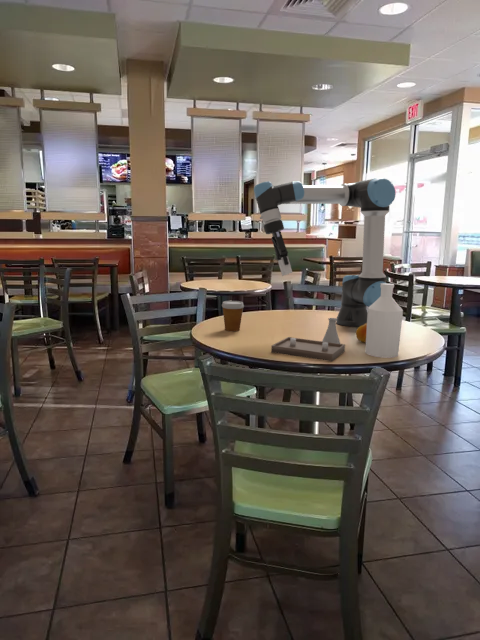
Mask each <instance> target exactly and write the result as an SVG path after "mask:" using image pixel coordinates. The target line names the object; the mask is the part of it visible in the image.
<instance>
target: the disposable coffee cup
mask: <svg viewBox="0 0 480 640" xmlns="http://www.w3.org/2000/svg"><path fill="white" fill-rule="evenodd" d="M221 307H222V312H223V313H222V314H223V322H224V324H223V325H224V331H226V332H239V331H241V325H242V323H241V322H242V317H243V316H242V315H243V310H244V307H245V305H244V302H243V301H239V300H225V301H222V304H221Z"/></svg>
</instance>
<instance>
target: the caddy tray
mask: <svg viewBox="0 0 480 640" xmlns="http://www.w3.org/2000/svg"><path fill="white" fill-rule="evenodd" d="M270 348H271V350H270V351H271V353H272V354H273V353H274V354H278V355H279V354H280V355H287V356H291V357H293V356H294V357H300V358H306V359H307V358H308V359H313V360H319V361H320V360H321V361H327V362H333V361H335V360H336V359H337V358H338V357H339V356H341V355H342V354H344V352H345V350H346V344H345V343H340V344H338V343H330V342H323V341H322V340H314V339H308V338H307V339H306V338H299V337H298V338H297V337H292V336H291V337H290V336H288V337H285V338H283V339H282V340H280V341H278V342H275V343H274V344H272V345H271V347H270Z"/></svg>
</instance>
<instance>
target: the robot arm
mask: <svg viewBox="0 0 480 640" xmlns="http://www.w3.org/2000/svg"><path fill="white" fill-rule="evenodd" d="M253 187H254V188H253V192H254V198H255V200H256V205H257V208H258V210H259V214H260V216H259V219H260V220H262V221H261V222H262V224H264V225H263V229H264V233H265V234H266V235H272V236H271V242H272V243H273V244H272V245H273V248H274V252H275V256H276V257H275V258H276V260H277V262H278V266H279V269H280V273H281V276H282V277H283V276H286V275H289V274H292V273H293V270H292V265H291V262H290V259H289V254H288V253H289V252H288V249H287V246H286V244H285V241H284V239H283V235H282V231H283V230H284V229H285V226H284V223H283V220H282V214H281V211H280V209H279V206H280V205H293V204H295V205H297V204H298V205H303V204H304V205H312V204H313V205H314V204H315V205H317V204H318V205H319V204H320V205H321V204H322V205H325V204H327V205H329V204H331V205H333V204H335V205H338V204H339V205H340V206H341V207H352V208H360V213H361V214H362V215H363V217H364V219H363V238H362V239H363V240H362V241H363V244H362V267H361V268H362V269H361V273H360V274H350V275H348V274H347V275H343V277H342V283H341V286H342V287H341V289H342V290H341V305H340V308H339V312H338V314H337V317H336V319H337V320H336V325H340V326H345V327H355V328H359V327H360V326H362V325H364V324H365V323H367V314H368V307H369V306H371V305H372V304H373V303H374V302H375V301H376V300H377V299H378V298H379V297H380V296H381V287H380V285H381V283H387V276H386V274H385V273H384V272H383V270H384V251H385V250H384V249H385V247H384V246H385V229H386V227H385V226H386V215H387V214H388V213H389V212H390V206H391V204H393V202H394V201H395V198H396V194H397V193H396V189H395V186H394V184H393V183H392V182H391V181H390V179H388V178H385V177H377V178H376V177H374V178H371V179H366V180H360V181H357V182H351V183H342V184H341V185H303V183H302V182H301V181H300V180H295V181H291V182H290V181H289V182H287V183H282V184H278V185H273V183H272V182H271V181H263V182H262V181H261V182H260V183H258V184H256V185H254V186H253Z"/></svg>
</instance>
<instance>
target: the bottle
mask: <svg viewBox="0 0 480 640" xmlns="http://www.w3.org/2000/svg"><path fill="white" fill-rule="evenodd" d="M380 287H381V296H380V297H379V298H378V299H377V300H376V301H375V302H374V303H373V304H372V305H371V306H369V307H368V306H367V313H368V314H367V331H366V343H365V349H364V350H365V351H364V352H365V354H366V355H369V356H372V357H376V358H383V359H384V358H385V359H389V358H390V359H392V358H397V357H398V356H399V351H400V350H399V349H400V342H401V331H402V321H403V315H404V310H403V308H402V307H401V306H400V305H399V304H398V303H397V302H396V300H395V299H394V297H393V289H394V288H395V284H394V283H387V282H386V283H381V285H380Z"/></svg>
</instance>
